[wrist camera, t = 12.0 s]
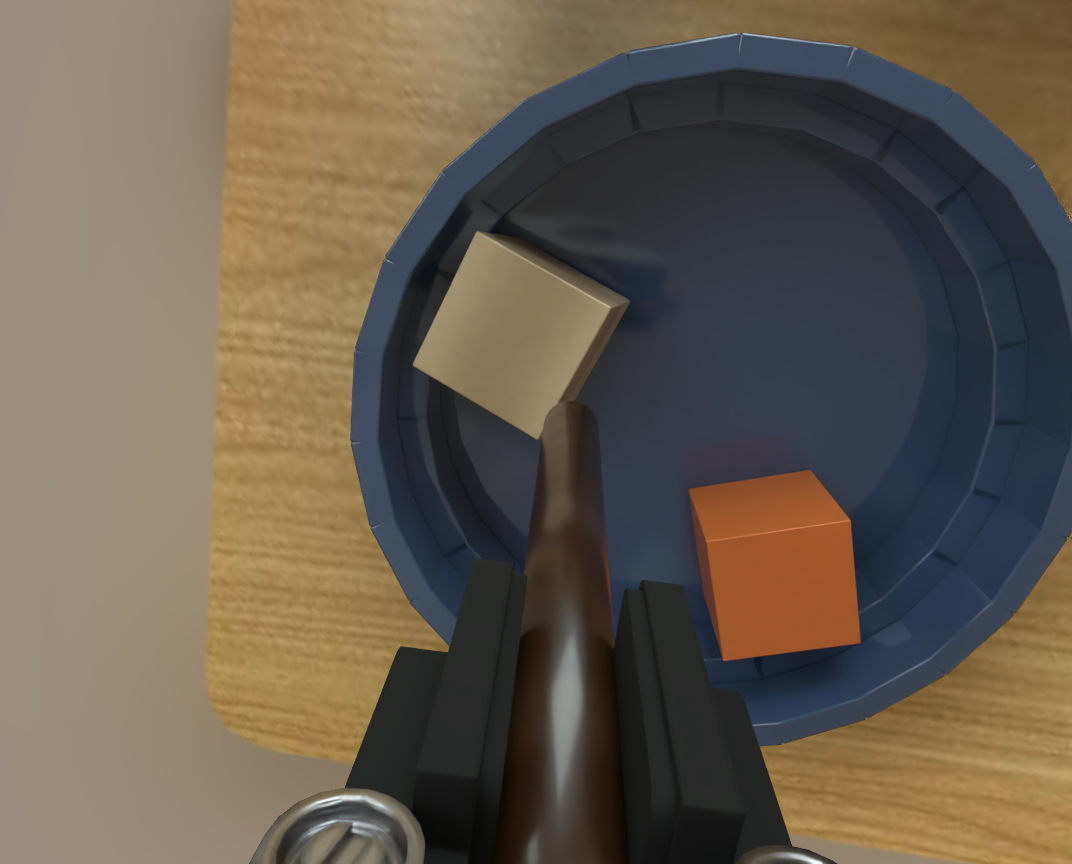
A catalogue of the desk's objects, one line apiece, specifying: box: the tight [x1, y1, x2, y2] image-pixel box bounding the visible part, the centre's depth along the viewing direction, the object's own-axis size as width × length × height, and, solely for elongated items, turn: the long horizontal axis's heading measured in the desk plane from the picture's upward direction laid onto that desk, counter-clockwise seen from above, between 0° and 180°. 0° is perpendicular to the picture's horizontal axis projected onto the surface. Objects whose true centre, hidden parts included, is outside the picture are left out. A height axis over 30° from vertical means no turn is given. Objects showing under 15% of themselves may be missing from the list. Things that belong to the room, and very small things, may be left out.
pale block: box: [413, 231, 630, 440], centre depth 22 cm, size 4×4×4 cm
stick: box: [492, 401, 629, 864], centre depth 13 cm, size 1×1×16 cm
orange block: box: [688, 470, 861, 661], centre depth 24 cm, size 4×4×4 cm
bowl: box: [350, 32, 1072, 746], centre depth 23 cm, size 20×20×5 cm
